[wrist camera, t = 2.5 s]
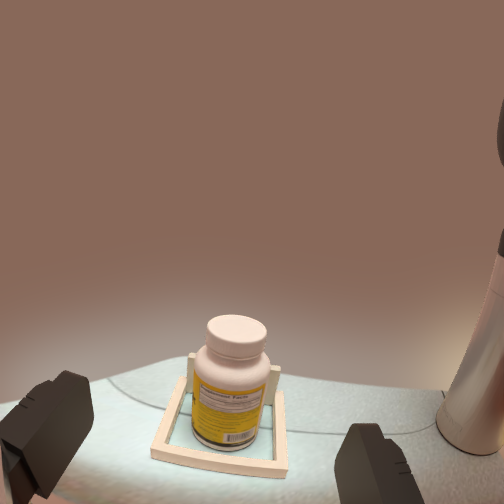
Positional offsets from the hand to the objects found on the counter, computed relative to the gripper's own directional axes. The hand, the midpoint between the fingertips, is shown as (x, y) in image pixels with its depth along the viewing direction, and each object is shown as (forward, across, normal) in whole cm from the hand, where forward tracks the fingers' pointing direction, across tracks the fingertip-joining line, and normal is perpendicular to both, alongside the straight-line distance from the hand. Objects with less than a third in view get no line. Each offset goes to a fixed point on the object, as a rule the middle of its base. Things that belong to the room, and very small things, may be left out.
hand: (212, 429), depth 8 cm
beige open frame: (+13, 0, +12) cm, 18 cm away
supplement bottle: (+13, 0, +12) cm, 18 cm away
